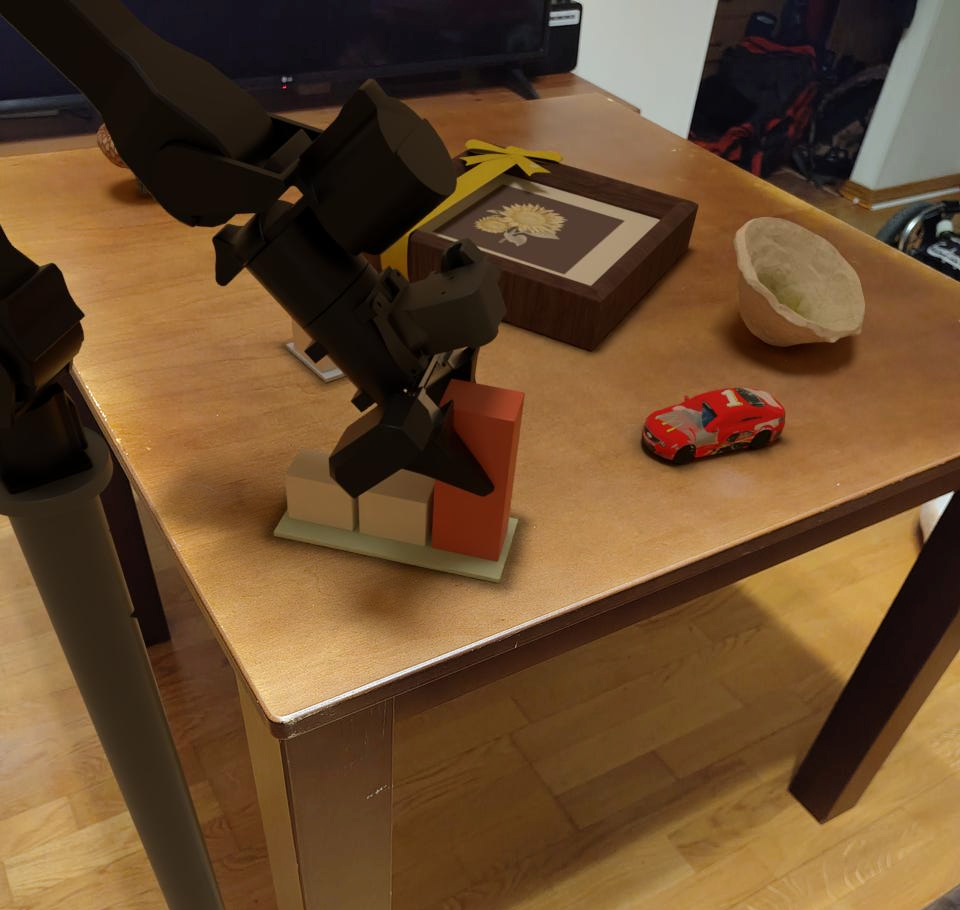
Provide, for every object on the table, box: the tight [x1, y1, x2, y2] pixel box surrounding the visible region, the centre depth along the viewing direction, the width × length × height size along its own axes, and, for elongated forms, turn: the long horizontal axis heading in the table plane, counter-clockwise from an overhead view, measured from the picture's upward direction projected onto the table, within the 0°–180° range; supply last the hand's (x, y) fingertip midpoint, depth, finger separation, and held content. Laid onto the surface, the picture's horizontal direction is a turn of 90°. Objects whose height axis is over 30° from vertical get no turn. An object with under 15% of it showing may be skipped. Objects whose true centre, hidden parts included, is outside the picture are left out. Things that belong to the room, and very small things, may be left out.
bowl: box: [733, 216, 866, 348], centre depth 87 cm, size 15×14×10 cm
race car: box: [641, 387, 786, 465], centre depth 76 cm, size 13×5×4 cm, turn 111°
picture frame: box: [361, 138, 699, 351], centre depth 97 cm, size 28×7×30 cm
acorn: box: [96, 122, 149, 195], centre depth 100 cm, size 8×8×10 cm
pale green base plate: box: [273, 447, 519, 584], centre depth 65 cm, size 17×7×4 cm, turn 77°
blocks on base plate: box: [285, 316, 346, 383], centre depth 83 cm, size 16×7×4 cm, turn 128°
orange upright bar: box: [432, 379, 526, 561], centre depth 62 cm, size 5×4×12 cm
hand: (495, 476), depth 61 cm, fingers closed on orange upright bar, 3 cm apart
